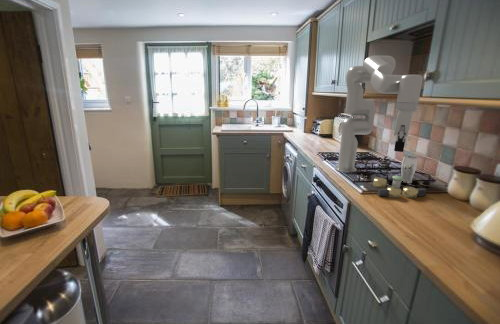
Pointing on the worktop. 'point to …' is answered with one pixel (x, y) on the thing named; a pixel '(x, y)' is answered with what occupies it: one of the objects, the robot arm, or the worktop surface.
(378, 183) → the knob left
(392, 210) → the worktop surface
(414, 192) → the knob
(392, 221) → the worktop surface
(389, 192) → the knob
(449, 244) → the worktop surface
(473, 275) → the worktop surface
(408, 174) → the beer glass
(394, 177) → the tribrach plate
